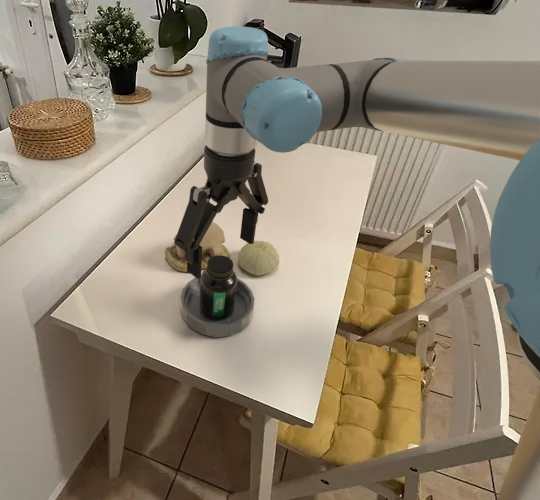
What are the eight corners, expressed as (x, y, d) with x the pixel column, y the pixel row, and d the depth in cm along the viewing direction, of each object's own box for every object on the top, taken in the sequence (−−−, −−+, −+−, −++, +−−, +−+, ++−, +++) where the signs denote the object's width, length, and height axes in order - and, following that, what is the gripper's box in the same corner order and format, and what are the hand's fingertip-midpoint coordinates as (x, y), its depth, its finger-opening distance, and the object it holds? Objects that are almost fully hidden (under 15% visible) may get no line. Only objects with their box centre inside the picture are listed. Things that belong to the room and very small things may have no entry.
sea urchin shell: (226, 260, 94) (244, 228, 94) (240, 266, 101) (256, 237, 101) (261, 280, 90) (280, 246, 89) (272, 285, 96) (290, 254, 96)
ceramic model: (210, 234, 104) (212, 199, 98) (237, 261, 97) (241, 225, 91) (159, 252, 99) (157, 217, 92) (183, 282, 92) (183, 246, 85)
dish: (266, 323, 83) (268, 310, 81) (201, 349, 78) (202, 336, 76) (229, 277, 93) (230, 265, 91) (169, 297, 88) (169, 285, 86)
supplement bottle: (223, 326, 82) (228, 281, 74) (193, 312, 85) (194, 267, 77) (239, 304, 86) (245, 259, 79) (210, 291, 89) (213, 246, 81)
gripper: (264, 115, 71) (251, 219, 85) (147, 164, 58) (153, 278, 72) (301, 130, 67) (281, 236, 81) (184, 185, 54) (184, 302, 67)
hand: (221, 256), depth 76 cm, fingers open, 13 cm apart
